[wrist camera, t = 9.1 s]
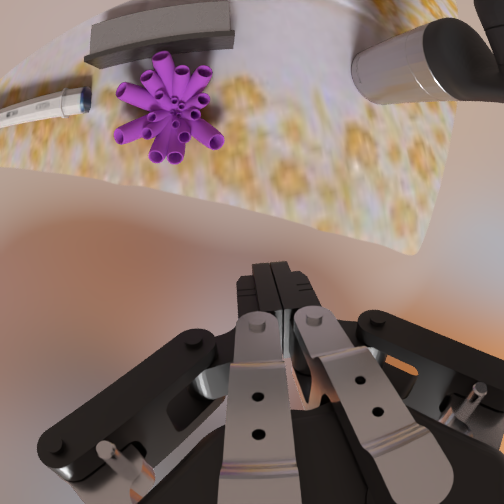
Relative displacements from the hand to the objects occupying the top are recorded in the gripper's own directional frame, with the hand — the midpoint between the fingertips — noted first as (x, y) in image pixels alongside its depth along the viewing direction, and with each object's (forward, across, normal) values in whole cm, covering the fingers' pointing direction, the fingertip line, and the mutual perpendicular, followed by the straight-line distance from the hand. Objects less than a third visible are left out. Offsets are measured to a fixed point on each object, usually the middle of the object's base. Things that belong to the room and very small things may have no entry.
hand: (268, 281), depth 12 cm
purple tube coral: (+28, +9, -11) cm, 32 cm away
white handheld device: (+28, +33, -16) cm, 46 cm away
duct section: (+28, +10, -22) cm, 37 cm away
